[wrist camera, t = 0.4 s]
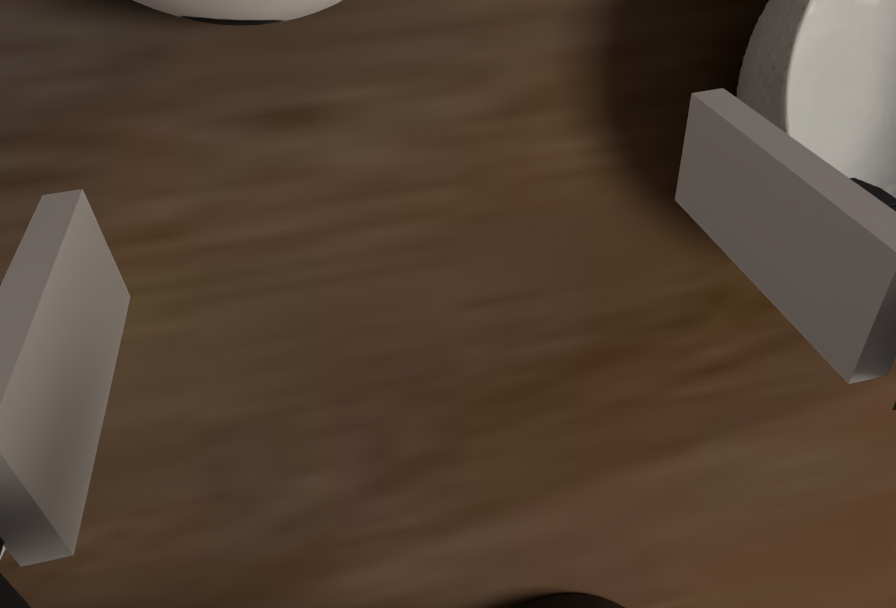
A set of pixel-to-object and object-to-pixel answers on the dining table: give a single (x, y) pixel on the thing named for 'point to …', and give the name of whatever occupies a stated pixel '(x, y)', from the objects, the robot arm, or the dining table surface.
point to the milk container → (239, 10)
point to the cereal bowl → (829, 81)
